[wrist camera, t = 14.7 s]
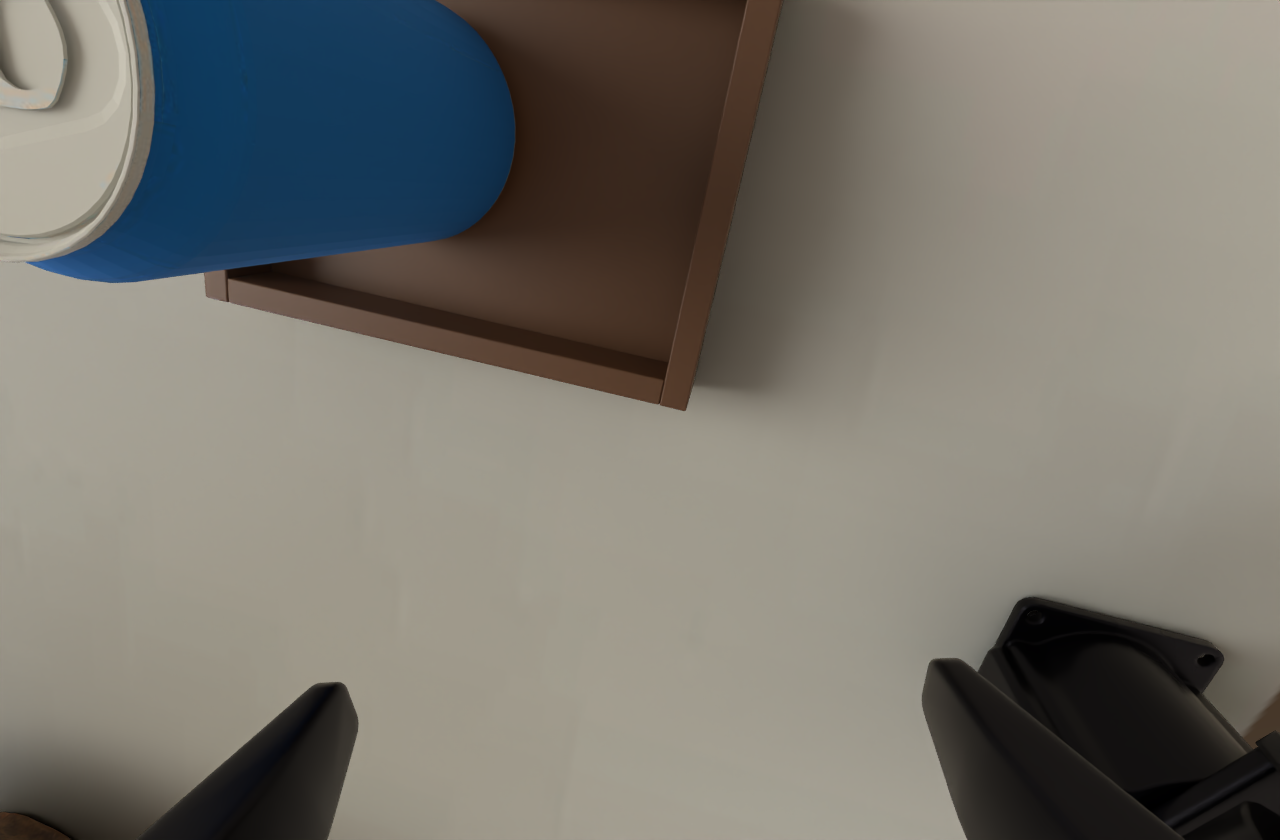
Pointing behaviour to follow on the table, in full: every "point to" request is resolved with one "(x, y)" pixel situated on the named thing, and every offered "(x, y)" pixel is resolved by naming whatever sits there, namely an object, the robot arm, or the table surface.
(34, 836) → the pottery vessel
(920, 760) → the table surface
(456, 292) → the tray
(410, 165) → the beverage can
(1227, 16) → the table surface
